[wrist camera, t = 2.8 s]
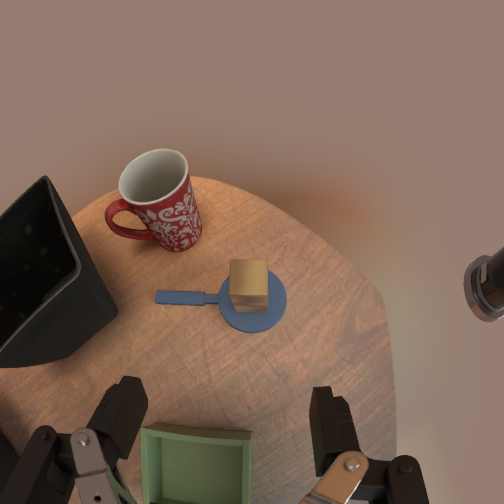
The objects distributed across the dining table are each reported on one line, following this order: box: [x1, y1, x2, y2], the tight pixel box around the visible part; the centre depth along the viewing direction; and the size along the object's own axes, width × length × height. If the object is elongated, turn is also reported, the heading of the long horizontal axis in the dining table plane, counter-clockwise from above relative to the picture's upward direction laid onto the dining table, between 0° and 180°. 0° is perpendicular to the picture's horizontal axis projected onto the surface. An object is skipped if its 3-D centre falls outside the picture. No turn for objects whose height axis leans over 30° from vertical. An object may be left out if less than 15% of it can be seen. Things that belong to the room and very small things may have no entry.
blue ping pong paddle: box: [155, 271, 286, 333], centre depth 38 cm, size 18×9×1 cm, turn 89°
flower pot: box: [0, 176, 118, 368], centre depth 31 cm, size 19×19×17 cm
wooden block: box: [229, 260, 268, 313], centre depth 33 cm, size 4×4×8 cm
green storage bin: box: [140, 422, 252, 504], centre depth 25 cm, size 13×13×6 cm
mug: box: [105, 149, 202, 252], centre depth 37 cm, size 13×9×14 cm
